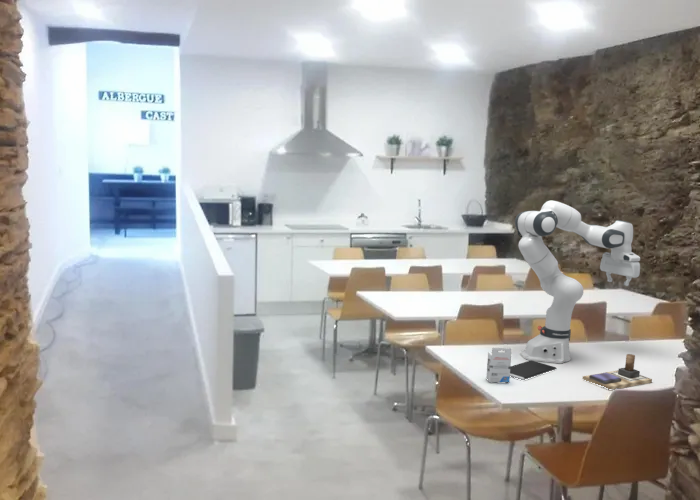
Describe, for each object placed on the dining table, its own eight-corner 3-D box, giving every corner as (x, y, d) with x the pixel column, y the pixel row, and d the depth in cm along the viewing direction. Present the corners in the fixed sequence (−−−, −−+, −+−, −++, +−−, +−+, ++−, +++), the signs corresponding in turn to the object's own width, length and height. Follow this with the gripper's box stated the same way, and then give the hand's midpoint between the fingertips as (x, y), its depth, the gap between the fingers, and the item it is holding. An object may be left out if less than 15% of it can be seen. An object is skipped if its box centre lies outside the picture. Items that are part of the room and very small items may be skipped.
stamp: (629, 378, 292) (631, 357, 291) (617, 374, 297) (620, 353, 296) (639, 376, 295) (641, 356, 294) (627, 372, 300) (629, 352, 299)
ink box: (505, 379, 288) (508, 344, 286) (509, 383, 283) (512, 348, 281) (485, 378, 287) (488, 344, 285) (489, 382, 282) (492, 347, 280)
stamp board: (609, 390, 280) (610, 383, 280) (582, 379, 293) (583, 372, 292) (651, 382, 293) (652, 375, 293) (624, 372, 305) (624, 365, 305)
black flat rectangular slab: (557, 371, 305) (557, 367, 305) (523, 382, 287) (523, 378, 286) (531, 363, 315) (531, 359, 314) (496, 373, 296) (496, 369, 296)
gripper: (598, 251, 335) (595, 279, 337) (634, 258, 317) (631, 288, 319) (607, 251, 338) (604, 279, 340) (643, 258, 320) (640, 287, 322)
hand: (617, 283), depth 329 cm, fingers open, 8 cm apart
